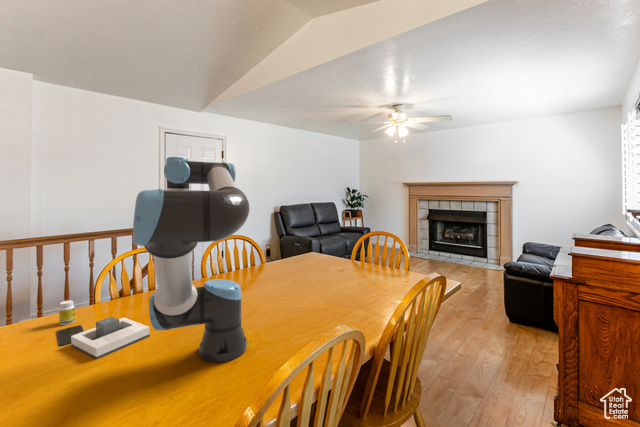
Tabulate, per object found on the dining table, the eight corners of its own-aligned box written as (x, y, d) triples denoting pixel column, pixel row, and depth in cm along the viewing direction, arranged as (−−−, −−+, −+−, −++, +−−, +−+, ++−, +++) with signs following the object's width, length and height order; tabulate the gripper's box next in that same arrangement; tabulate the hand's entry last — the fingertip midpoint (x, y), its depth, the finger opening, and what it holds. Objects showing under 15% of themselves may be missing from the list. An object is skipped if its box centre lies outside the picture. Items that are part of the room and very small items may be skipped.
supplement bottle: (76, 322, 117) (75, 302, 116) (60, 326, 113) (59, 305, 113) (74, 319, 120) (73, 298, 119) (58, 322, 117) (57, 302, 116)
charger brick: (119, 335, 106) (119, 319, 105) (104, 342, 101) (103, 324, 101) (111, 332, 108) (111, 316, 107) (96, 338, 103) (95, 321, 103)
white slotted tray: (149, 336, 107) (149, 326, 107) (96, 359, 92) (96, 348, 92) (124, 326, 115) (124, 317, 114) (71, 346, 100) (71, 335, 99)
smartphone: (58, 345, 99) (56, 330, 110) (58, 348, 99) (56, 332, 110) (86, 338, 104) (81, 324, 115) (86, 340, 104) (81, 326, 115)
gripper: (194, 200, 118) (194, 256, 119) (144, 200, 99) (145, 267, 100) (208, 200, 115) (208, 258, 116) (159, 201, 96) (160, 270, 97)
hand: (179, 262), depth 108 cm, fingers open, 8 cm apart
